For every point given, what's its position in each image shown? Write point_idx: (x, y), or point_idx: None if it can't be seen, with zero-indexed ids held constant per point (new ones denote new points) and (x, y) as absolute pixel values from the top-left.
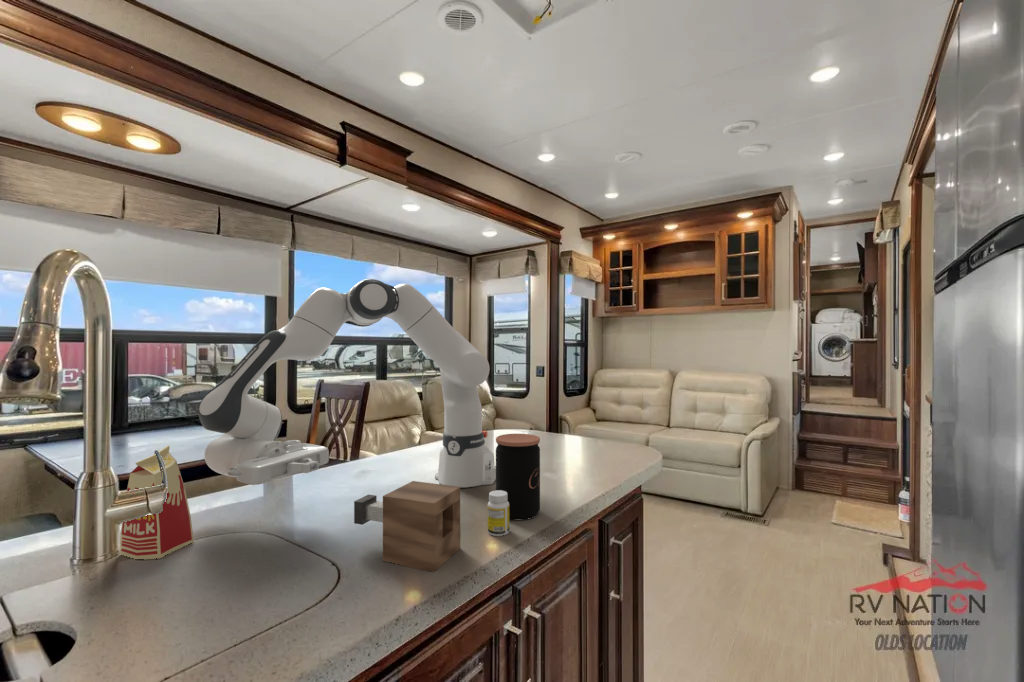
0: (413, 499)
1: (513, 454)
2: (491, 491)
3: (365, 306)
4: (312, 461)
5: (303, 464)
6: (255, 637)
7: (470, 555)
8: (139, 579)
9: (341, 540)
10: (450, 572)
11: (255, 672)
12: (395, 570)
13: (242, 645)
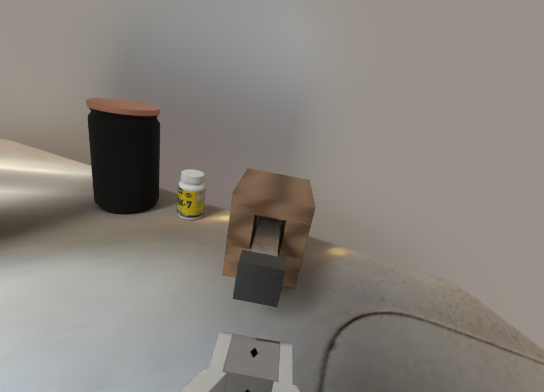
0: (308, 189)
1: (158, 126)
2: (186, 175)
3: None
4: (224, 358)
5: (292, 372)
6: (487, 340)
7: None
8: None
9: None
10: None
11: (492, 311)
12: (306, 272)
13: (502, 344)
